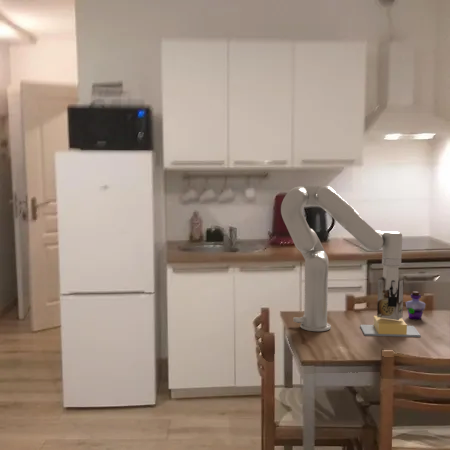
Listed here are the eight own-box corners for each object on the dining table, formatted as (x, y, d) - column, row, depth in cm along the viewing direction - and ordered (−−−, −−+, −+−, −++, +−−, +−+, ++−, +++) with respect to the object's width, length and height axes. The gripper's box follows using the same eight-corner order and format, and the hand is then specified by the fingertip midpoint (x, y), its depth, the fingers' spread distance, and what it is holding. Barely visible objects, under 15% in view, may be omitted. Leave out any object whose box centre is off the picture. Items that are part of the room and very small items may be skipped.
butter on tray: (364, 335, 245) (364, 323, 245) (360, 326, 258) (360, 315, 258) (420, 336, 243) (421, 325, 243) (413, 327, 256) (413, 316, 256)
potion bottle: (403, 319, 269) (404, 292, 268) (405, 314, 277) (406, 288, 275) (424, 321, 266) (425, 294, 264) (425, 316, 274) (426, 290, 272)
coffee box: (403, 317, 250) (404, 278, 248) (398, 320, 245) (400, 281, 243) (381, 313, 255) (382, 275, 253) (376, 317, 250) (377, 278, 248)
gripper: (378, 258, 256) (377, 298, 258) (385, 265, 239) (384, 308, 241) (396, 258, 256) (395, 298, 258) (405, 266, 238) (403, 309, 240)
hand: (390, 303), depth 249 cm, fingers closed on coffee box, 8 cm apart
